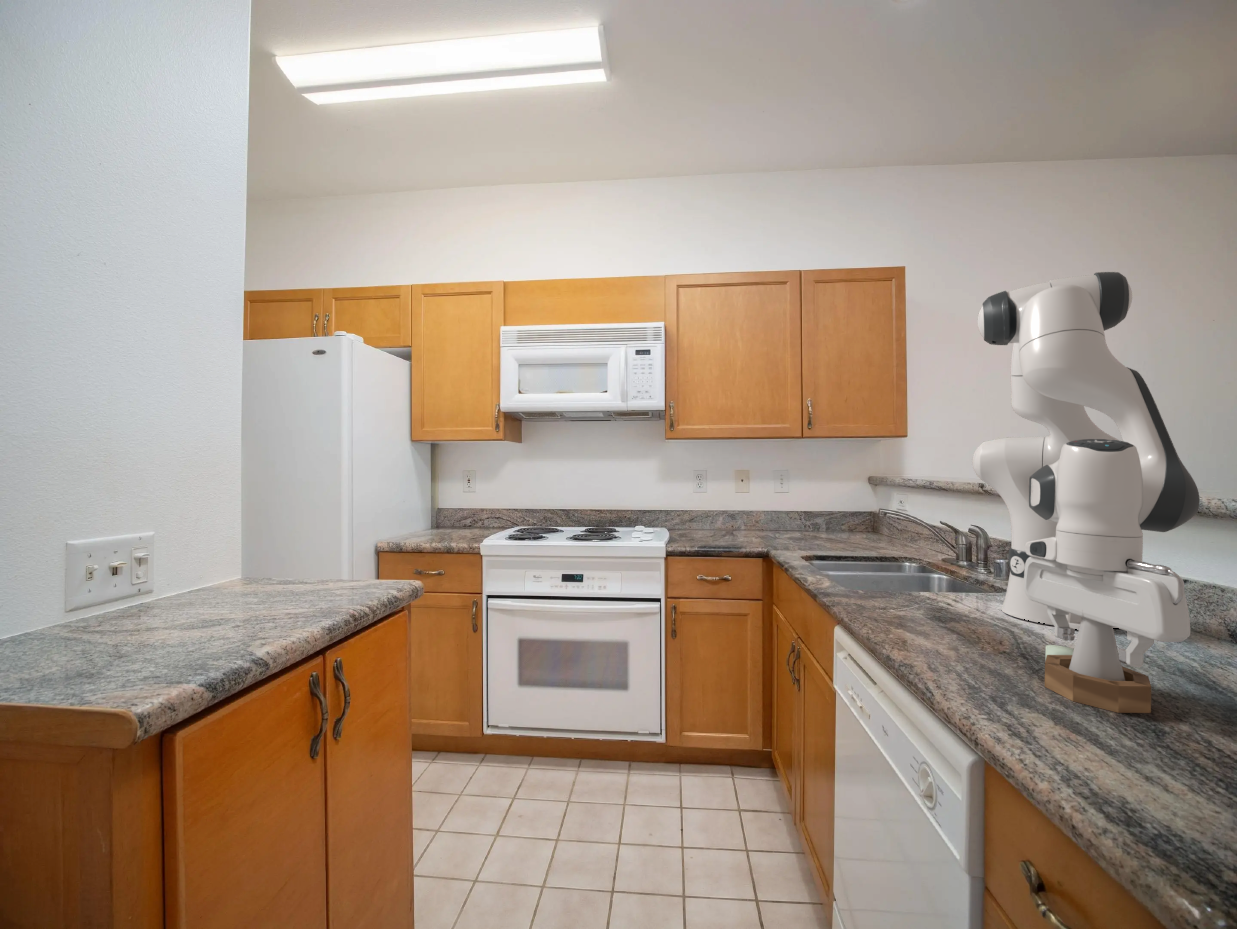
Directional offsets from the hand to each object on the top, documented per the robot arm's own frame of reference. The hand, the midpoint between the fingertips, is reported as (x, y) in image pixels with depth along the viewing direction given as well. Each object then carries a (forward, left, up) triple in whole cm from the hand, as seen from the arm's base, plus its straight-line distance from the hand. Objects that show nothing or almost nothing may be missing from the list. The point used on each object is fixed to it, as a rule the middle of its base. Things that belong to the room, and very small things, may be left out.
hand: (1095, 651), depth 70 cm
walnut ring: (0, 0, -6) cm, 6 cm away
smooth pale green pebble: (-4, -9, -6) cm, 12 cm away
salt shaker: (0, 0, -6) cm, 6 cm away
